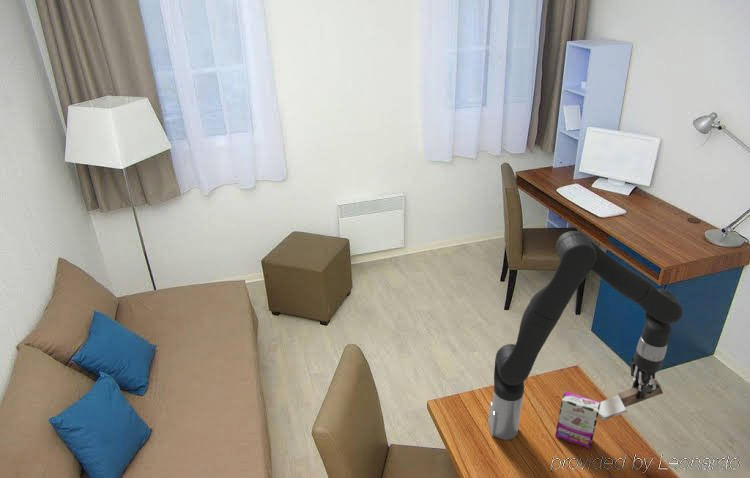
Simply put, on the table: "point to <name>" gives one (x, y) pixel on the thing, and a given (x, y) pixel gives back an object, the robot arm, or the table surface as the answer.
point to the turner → (623, 402)
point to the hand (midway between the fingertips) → (637, 394)
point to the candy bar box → (577, 419)
